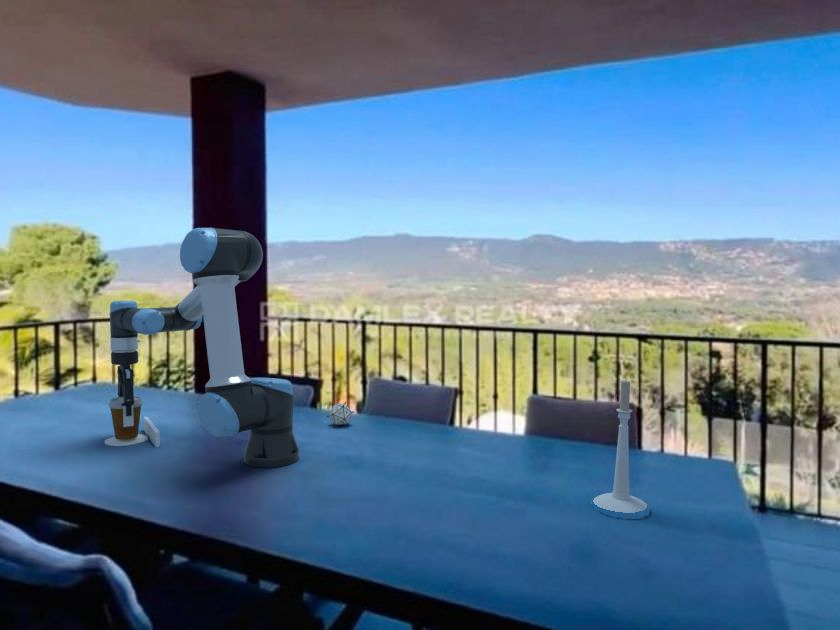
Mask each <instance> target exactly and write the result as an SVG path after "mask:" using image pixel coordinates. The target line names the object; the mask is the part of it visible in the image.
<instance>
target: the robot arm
mask: <svg viewBox="0 0 840 630" xmlns="http://www.w3.org/2000/svg"><path fill="white" fill-rule="evenodd" d="M263 258H264V251H263V248H262V245H261V243H260V241H259V240H258V239H257V238H256V237H255V236H254V235H253V234H251V233H250V232H247V231H244V230H238V229H237V230H235V229H225V228H216V227H197V228H193V229H191V230H189V232H187V233H186V234H185V236H184V239H183V240H182V242H181V245H180V249H179V259H180V265H181V267H183V269H184V271H186V272H188V274H189V273H190V274H191V275H192V276H191V277H192V282H193V283H194V284H195V285H196V286H195V287H194V288H193V290H191V291H190V292H189V293H188V294H187V295H186V296H185V297H184V298H183V299H182V300H181V301H180V302H179V303H178V304H176V305H175V306H172V307H171V306H169V307H167V306H166V307H153V308H151V307H150V308H149V307H148V308H145V307H144V308H141V307H138V303H137V302H136V301H135V300H114V301H111V302H110V304H109V305H110V306H109V314H108V315H109V328H110V329H109V331H110V332H109V333H110V342H109V343H110V351H112V352H111V353H110V363H111V364H112V365H117V371H116V372H117V373H116V374H117V395H118V396H117V397H123V400H124V403H122V404H121V406H123V426H124V427H128V426H134V417H133V404H134V396H135V393H134V391H135V390H134V376H133V375H134V369H132V368H131V365H135V364H138V363H139V352H138V349H139V344H138V343H140V342H141V340H140V339H139V337H138V336H139V335H144V336H147V335H156V334H158V333H167V332H180V331H183V332H184V331H185V332H188V331H189V332H190V330H195V329H196V330H197V329H198V328H199V327H201V323H202V322H203V325H204V327H203V328H204V336H205V344H206V351H207V352H206V353H207V361H208V369H209V377H210V378H209V380H208V381H207V382H206V383H205V386H204V391H205V393H204V394H202V395H201V396H200V398H199V399H198V403H197V408H196V409H197V415H198V419H199V421H200V424H201V425H202V427H203V428H204V429H205V430H206V431H207V433H208V434H210V435H212V436H215V437H217V438H219V437H228V436H235V435H236V434H239V433H243V432H246V431H249V432H250V433H249V437H248V440H247V442H246V446H245V450H244V453H243V462H244V464H246V465H247V466H251V467H255V468H263V469H264V468H267V469H268V467H269V468H278V467H279V466H280V467H284V466H289V465H291V464H293V463H294V464H295V463H296V462H297V461H298V460H300V449H299V446H298V443H297V440H296V438H295V434H294V431H293V430H294V427H293V426H294V425H293V424H294V422H293V421H294V419H293V418H294V392H293V383H292V382H291V381H290V380H288V379H284V378H275V377H274V378H273V377H252V378H250V377H248V376H247V375H246V374H245V368H244V367H245V366H244V359H243V350H242V342H241V334H240V333H241V332H240V326H239V325H240V324H239V315H238V309H237V308H238V307H237V306H238V305H237V299H236V298H237V297H236V291H235V290H236V289H235V287H237V285H238V284H239V283H241V282H246V281H248V280H249V279H251V277H253V276H254V275H255V274H256V272H257V271H258V270H259V269H260V267H261V265H262V263H263ZM127 400H128V401H127Z"/></svg>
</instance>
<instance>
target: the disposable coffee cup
mask: <svg viewBox="0 0 840 630" xmlns="http://www.w3.org/2000/svg"><path fill="white" fill-rule="evenodd" d="M127 401H128V400H127ZM122 403H124V400H123V397H118V396H117V397H113V398H111V399H110V400H109V403H108V406H109V408H110V414H111V420H112V421H111V422H112V425H113V431H114V436H115V438H116V439H119V440H127V439H133V438H136V437H137V436H138V434H139V427H140V420H141V412H142V411H141V410H142V405H143V403H144V401H143V400H142V397H141V396H137V395H134V404H133V417H134V426H128V427H124V426H123V406H121V404H122Z"/></svg>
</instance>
